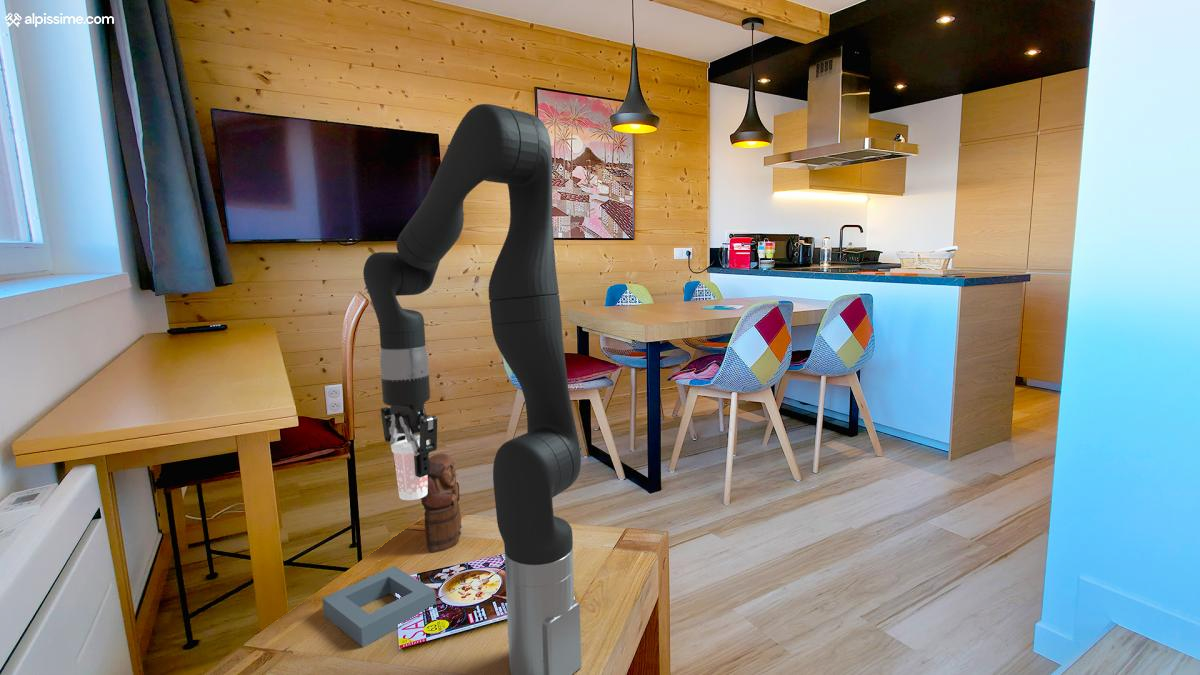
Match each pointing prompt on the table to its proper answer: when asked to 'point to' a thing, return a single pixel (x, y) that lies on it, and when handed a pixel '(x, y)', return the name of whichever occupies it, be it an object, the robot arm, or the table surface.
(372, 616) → the hole plate
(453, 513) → the wooden figurine
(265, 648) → the table surface
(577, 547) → the table surface
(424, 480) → the beverage cup
